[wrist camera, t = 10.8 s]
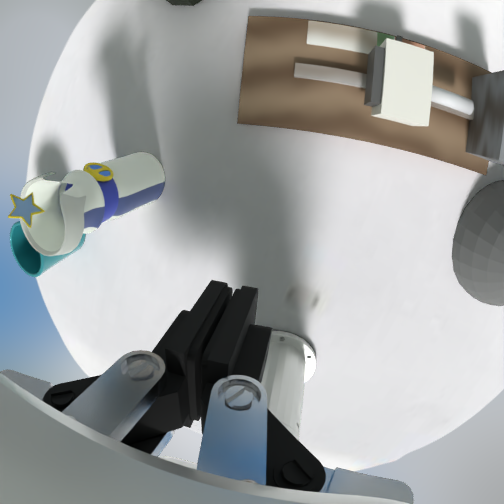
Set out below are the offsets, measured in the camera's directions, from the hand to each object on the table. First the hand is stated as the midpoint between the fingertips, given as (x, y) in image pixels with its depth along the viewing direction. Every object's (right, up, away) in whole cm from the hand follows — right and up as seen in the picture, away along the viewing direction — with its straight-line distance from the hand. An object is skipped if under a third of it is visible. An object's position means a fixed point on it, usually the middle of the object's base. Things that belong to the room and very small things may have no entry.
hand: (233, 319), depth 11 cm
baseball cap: (+41, +4, +22) cm, 46 cm away
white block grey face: (+19, +21, +15) cm, 32 cm away
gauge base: (+16, +22, +19) cm, 33 cm away
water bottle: (-15, +13, +29) cm, 35 cm away
